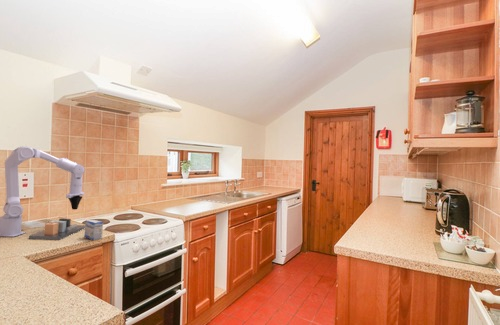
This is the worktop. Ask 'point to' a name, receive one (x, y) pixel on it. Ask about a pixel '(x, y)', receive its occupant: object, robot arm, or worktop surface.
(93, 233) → the medicine box
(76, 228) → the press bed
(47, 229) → the housing block
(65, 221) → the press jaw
